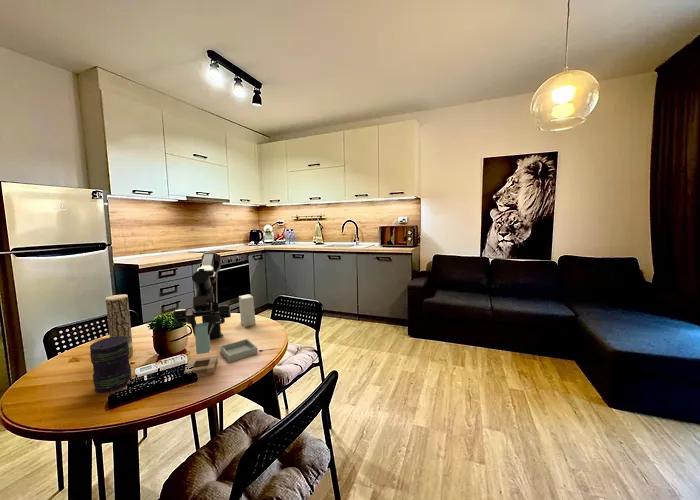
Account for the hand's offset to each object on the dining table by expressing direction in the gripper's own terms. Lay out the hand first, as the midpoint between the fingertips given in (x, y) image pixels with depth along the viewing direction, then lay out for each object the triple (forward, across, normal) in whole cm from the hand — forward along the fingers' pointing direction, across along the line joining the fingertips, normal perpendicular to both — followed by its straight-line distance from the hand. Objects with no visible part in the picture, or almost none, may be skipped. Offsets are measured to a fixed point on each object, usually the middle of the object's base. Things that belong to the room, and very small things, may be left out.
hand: (201, 335), depth 104 cm
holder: (+9, -1, +10) cm, 13 cm away
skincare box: (-22, +15, +42) cm, 49 cm away
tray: (+2, +11, +17) cm, 21 cm away
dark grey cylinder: (+9, -28, +10) cm, 31 cm away
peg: (+4, 0, +6) cm, 7 cm away
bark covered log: (-7, -33, +26) cm, 42 cm away
